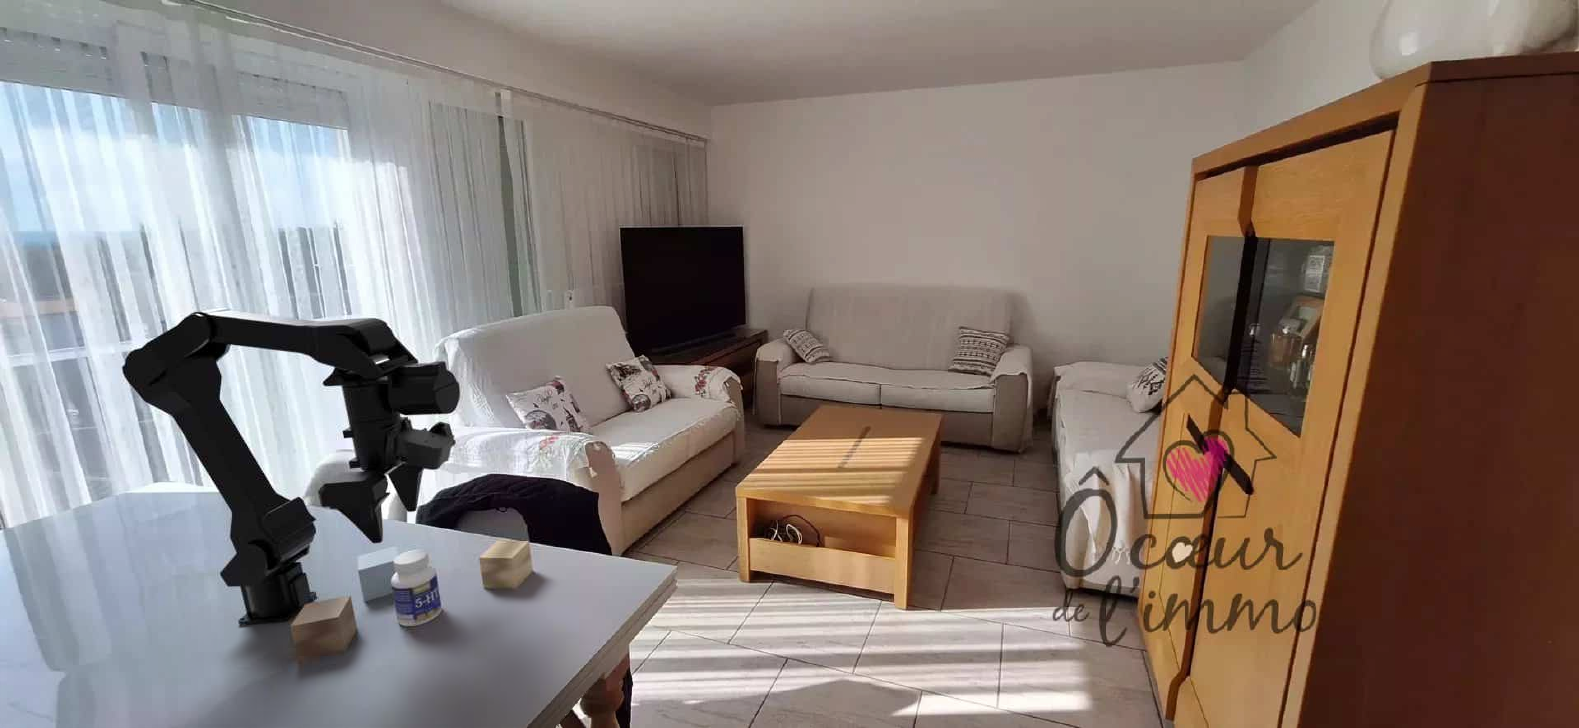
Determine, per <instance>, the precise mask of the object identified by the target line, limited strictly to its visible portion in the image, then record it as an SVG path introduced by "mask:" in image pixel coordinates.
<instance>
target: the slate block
mask: <svg viewBox="0 0 1579 728" xmlns="http://www.w3.org/2000/svg"><path fill="white" fill-rule="evenodd" d="M398 555H399V551H398V546H397V545H395V546H391V547H387V548H383V549H380V550H375V551H372V552H369V553H364V554H360V555H357V571H358V577H359V583H360V588H361V594H362V598H363V602H367V601H372V600H375V599H378V598H382V597H385V596H387V595H388V596H389V595H393V591H392V586H391V579H392V577H393V575H394V574H395V573H396V571H395V568H394V559H395V558H396V557H397V556H398Z"/></svg>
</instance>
